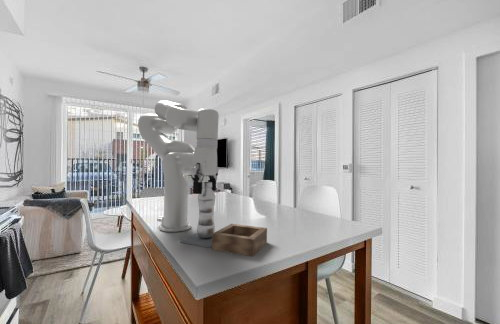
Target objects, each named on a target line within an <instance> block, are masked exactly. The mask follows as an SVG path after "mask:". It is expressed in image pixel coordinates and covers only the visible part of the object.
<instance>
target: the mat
mask: <svg viewBox="0 0 500 324" xmlns="http://www.w3.org/2000/svg"><path fill="white" fill-rule="evenodd" d="M180 243H181V244H187V245H192V246H199V247H203V248H204V247H205V248H210V249H212V237H211V238H200V237H199V236H198V234H197V233H195V234H193V235H191V236H189V237H186V238H184V239H181V240H180Z"/></svg>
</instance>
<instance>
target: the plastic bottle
mask: <svg viewBox="0 0 500 324" xmlns="http://www.w3.org/2000/svg"><path fill="white" fill-rule="evenodd" d="M201 182H202V194H197V195H198V196H197V202H198V212H199V213H198V221H197V222H198V224H197V229H196V234H198V236H199V237H200V238H211V237H212V234H213V233H215V232H216V225H215V218H214V217H215V216H214V215H215V213H214V211H215V205H216V204H215V203H216V198H217V196H216V194H215V191H213V190H212V182H208V181H201Z"/></svg>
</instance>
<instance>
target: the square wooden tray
mask: <svg viewBox="0 0 500 324" xmlns="http://www.w3.org/2000/svg"><path fill="white" fill-rule="evenodd" d="M266 242H268V227H259V226H252V225H245V224H237V223H229V224H228V225H225V226H224V227H222V228H220V229H218V230H216V231H215V233H213V234H212V247H211V250H212V251H213V250H215V251H220V252H225V253H226V252H227V253H231V254H237V255H243V256H244V255H245V256H248V257H249V256H250V257H254V256H255V255H256V254H257V253H258V252H259V251H260V250H261V249H262V248H263V247H264V246H265V245H266V244H267V243H266ZM265 243H266V244H265ZM264 244H265V245H264Z"/></svg>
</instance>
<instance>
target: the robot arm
mask: <svg viewBox="0 0 500 324" xmlns="http://www.w3.org/2000/svg"><path fill="white" fill-rule="evenodd" d="M154 112H155V113H146V114H142V115H141V116H140V117H139V118H138V122H137V127H138V132H139V134H140V136H141V138H142V139H143V140H144V141H145V143H146V144H148V146H150V147H151V149H152V150H153V151H154V153H155V154H156V155H157V156H158V158H159V159H160V160H161V161H162V162H161V164H162V170H163V177H164V178H163V179H164V180H163V181H164V182H163V183H164V186H163V187H164V188H163V189H164V193H163V195H164V197H163V215H160V216H159V217H158V218H157V219H156V221H157V222H160V223H161V224H160V225H159V227H158V228H159V230H160V231H162V232H168V233H175V232H176V233H177V232H183V231H188V230H190V229H191V228H192V224H191V223H190V222H188V215H189V214H188V213H189V210H188V209H189V207H188V204H189V203H188V202H189V184H188V182H187V181H188V180H186V178H185V176H187V175H189V176H191V179H192V181H191V182H192V183H193V184H192V193H193V194H195V195H199V194H202V188H203V187H202V182H203V181H202V180H203V178H204V177H208V179H207V182H212V190H213V192H215V191H217V180H218V175H219V170H220V169H219V166H218V140H219V139H218V138H219V116H220V115H219V112H218V111H217V110H215V109H212V108H200V109H198V110H192V109H188V108H187V106H186V105H185V104H183V103H180V102H179V103H178V102H174V101H171V100H159V101H158V102H156V103H155V105H154ZM178 130H182V131H190V132H191V131H192V132H196V134H195V135H196V136H195V137H196V140H195V146H193V145H192V144H191V143H189V142H186V141H181V140H179V141H178V140H173V139H170V138H169V137H168V136H167V135H166V134H169V135H170V134H174V133H175V132H176V131H178Z"/></svg>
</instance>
